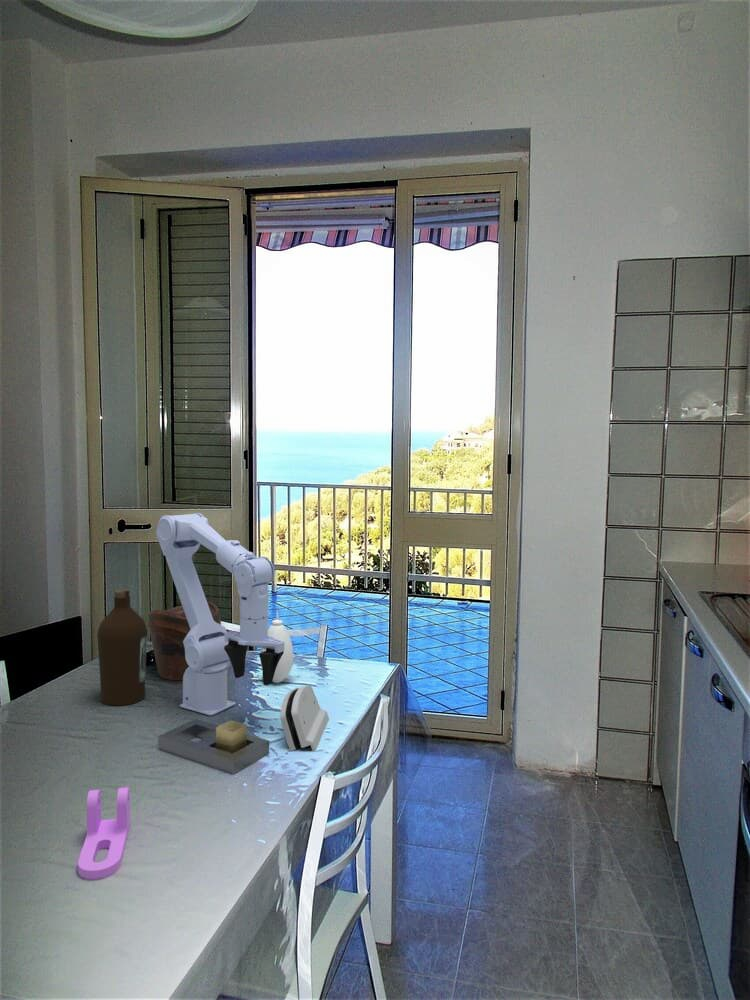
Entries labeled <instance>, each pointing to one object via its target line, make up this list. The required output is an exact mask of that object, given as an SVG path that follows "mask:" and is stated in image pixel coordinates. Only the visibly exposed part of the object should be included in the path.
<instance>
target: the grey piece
mask: <svg viewBox="0 0 750 1000" xmlns="http://www.w3.org/2000/svg"><path fill="white" fill-rule="evenodd" d="M279 719H280V723H281V725H282V729H283V732H284V735H285V738H286V739H285V740H286V743H287V746H288V750H289V751H291V752H292V751H296V750H297V748H298V747H301V748H302V749H303V748H306V747H309V746H310V747H311V748H310V749H311V750H312V752H313V753H314V752H316V751H317V749H318V746H319V744H320V741H321V739H322V737H323V734H324V732H325V730H326V727H327V725H328V722H329V720H330V718H329V714H328V712H327V711H326V710H324V709H322V708H321V707H320V704H319V701H318V699H317V697H316V694H315V691H314V689H313V687H312V686H311V685H302V686H301V687H297V688H296V687H295V688H294V689H292V690H290V691H288V692H287V694H286V695H285V697H284V698H283V701H282V703H281V707H280V715H279Z"/></svg>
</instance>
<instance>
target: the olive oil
mask: <svg viewBox="0 0 750 1000" xmlns="http://www.w3.org/2000/svg"><path fill="white" fill-rule="evenodd" d="M113 598H114V599H113V601H114V602H113V603H114V606H113V608H112V610H111V611H110V612H109V613H108V614H107V615H106V616H105V617H104V618H103V619H102V621H101V622H100V624H99V626H98V628H97V629H98V630H97V633H96V634H97V635H96V637H97V649H98V662H99V663H98V665H99V678H100V679H99V681H100V700H101V703H103V704H104V705H106V706H107V705H108V706H112V707H113V706H115V707H119V706H128V705H132V704H136V703H138V702H140V701H142V700H143V699H144V698H145V695H146V667H147V645H148V643H147V642H148V629H147V628H148V626H147V624H146V622H145V620H144V619H143V617H142V616H141V615H140V614H138V613H137V611H135V610H134V609H133V607H131V596H130V590H129V589H127V588H121V589H120V588H119V589H116V590H115V591H114V596H113Z"/></svg>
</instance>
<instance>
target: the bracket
mask: <svg viewBox="0 0 750 1000" xmlns="http://www.w3.org/2000/svg"><path fill="white" fill-rule="evenodd" d="M116 797H117V798H116V818H112V819H111V818H110V819H102V793H101V789H92V790H89V791H88V793H87V797H86V799H87V800H86V837H85V839H84V843H83V845H82V849H81V852H80V854H79V857H78V859H77V874H78V875H79V877H81V878H83V879H85V880H89V881H90V880H91V881H92V880H102V879H104V878H108V877H110V876H112V875H114V874H115V873H116V872H117V871H119V870H120V869H121V866H122V861H123V858H124V855H125V854H124V853H125V849H126V845H127V840H128V836H129V831H130V826H131V790H130V787H129V786H125V787H119V788H118V790H117V796H116ZM103 849H108V852H107V855H106V859H104V860H102V861H99V862H98V861H97V862H96V858H97V855H98V852H99V851H100V850H103Z"/></svg>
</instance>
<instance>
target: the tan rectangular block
mask: <svg viewBox="0 0 750 1000" xmlns="http://www.w3.org/2000/svg"><path fill="white" fill-rule="evenodd" d="M247 734H248V725H247V724H245V723H243V722H238V721H235V720H232V719H230V720H227V721H226V722H224V723H222V724H220V725H218V727H216V749H219V750H222V751H226V752H229V753H232V754H233V753H235V752H237V751H239V750H240V749H242V748H244V747H246V746H247Z"/></svg>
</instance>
